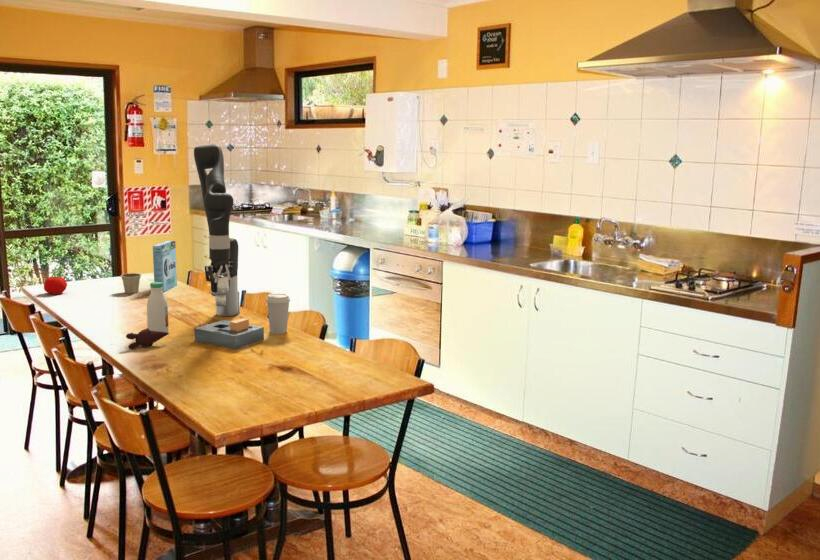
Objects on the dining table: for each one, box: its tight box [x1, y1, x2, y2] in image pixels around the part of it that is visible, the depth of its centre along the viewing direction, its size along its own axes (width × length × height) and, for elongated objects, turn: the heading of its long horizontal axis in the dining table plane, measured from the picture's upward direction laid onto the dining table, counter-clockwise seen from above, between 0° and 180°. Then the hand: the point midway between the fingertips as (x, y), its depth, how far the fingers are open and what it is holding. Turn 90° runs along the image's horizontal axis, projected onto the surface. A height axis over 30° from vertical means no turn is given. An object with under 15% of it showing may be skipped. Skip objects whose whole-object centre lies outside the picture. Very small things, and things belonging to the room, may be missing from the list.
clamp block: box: [230, 317, 250, 332], centre depth 280 cm, size 7×3×3 cm, turn 151°
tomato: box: [43, 276, 68, 295], centre depth 356 cm, size 9×10×8 cm
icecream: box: [125, 327, 169, 350], centre depth 273 cm, size 7×7×15 cm
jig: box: [193, 319, 265, 350], centre depth 283 cm, size 16×20×6 cm
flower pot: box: [120, 272, 142, 295], centre depth 363 cm, size 9×9×9 cm
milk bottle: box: [146, 281, 169, 333], centre depth 290 cm, size 8×8×20 cm
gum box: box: [152, 240, 178, 293], centre depth 373 cm, size 20×5×23 cm, turn 178°
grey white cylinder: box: [211, 275, 229, 307], centre depth 282 cm, size 6×6×11 cm
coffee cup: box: [265, 292, 291, 335], centre depth 296 cm, size 10×10×15 cm
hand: (220, 290), depth 282 cm, fingers closed on grey white cylinder, 6 cm apart
